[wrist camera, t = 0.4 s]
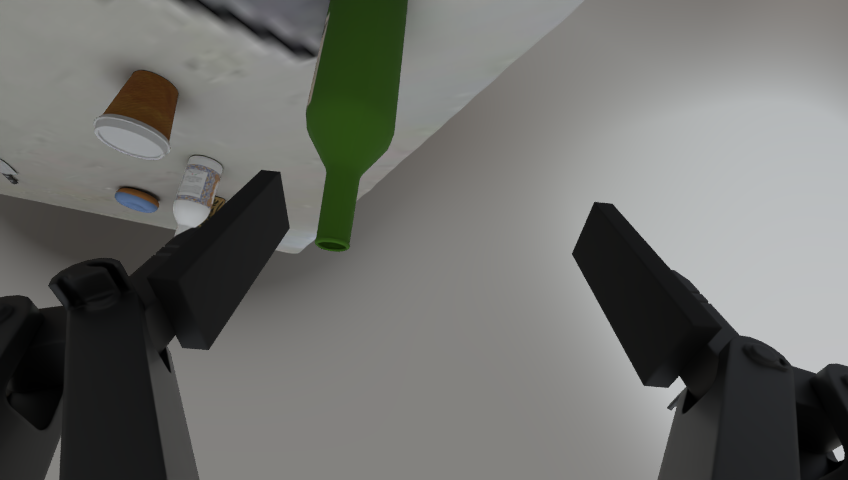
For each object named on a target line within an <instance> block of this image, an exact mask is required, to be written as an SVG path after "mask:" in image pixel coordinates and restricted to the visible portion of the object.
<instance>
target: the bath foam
mask: <svg viewBox="0 0 848 480" xmlns="http://www.w3.org/2000/svg"><path fill="white" fill-rule="evenodd" d="M222 171H223V168H222V166H221V165H220V164H219V163H218V162H217V161H215V160H213V159H211V158H208V157H204V156H192V157H190V158H189V161H188V163H187V166H186V169H185V172H184V175H183V178H182V181H181V183H180V186H179V189H178V192H177V195H176V198H175V201H174V204H173V212H174V216H175V219H176V221H177V223H178V227H177V230H176V233H175V236H176V235H178V234H180V233H182V232H184V231H186V230H188V229H190V228H192V227H194V228H195V227H197V226H198V225H200V224H201V223H202V222H203V221H204V220H205V219H206V218H207V217H208V215H209V213H210V211H211V207H212V204H213V201H214V198H215V194H216V191H217V188H218V184H219V181H220V178H221V174H222ZM175 236H174V237H175Z"/></svg>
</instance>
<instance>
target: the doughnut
mask: <svg viewBox="0 0 848 480" xmlns="http://www.w3.org/2000/svg"><path fill="white" fill-rule="evenodd" d="M115 198H116V200H117V201H118V202H119V203H121V204H122V205H124V206H126V207H128V208H131V209H134V210H137V211H141V212H146V213H152V212H154V211H156V210H157V209H158V207H159V203H158V201H157V200H156V199H155V198H154V197H152V196H151V195H149V194H146V193H144V192H142V191H139V190H135V189H131V188H121V189H119V190H118V191H117V192H116V194H115Z"/></svg>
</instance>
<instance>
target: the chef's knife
mask: <svg viewBox="0 0 848 480" xmlns="http://www.w3.org/2000/svg"><path fill="white" fill-rule="evenodd" d="M0 172H1V173H2V174H3V175H4V176H5V177H6V178H7V179H8V180H9V181H10V182H11V183H13V184H17V183H18V182H17V181H16V180H14V179H13V178H12V177H11V176H10V174H11V175H18V174H17V173H16V172H15V171H13V170H12V169H11V168H10V167H9V166H8V165H7V164H6V163H5V162H3V161H2V160H0Z"/></svg>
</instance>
